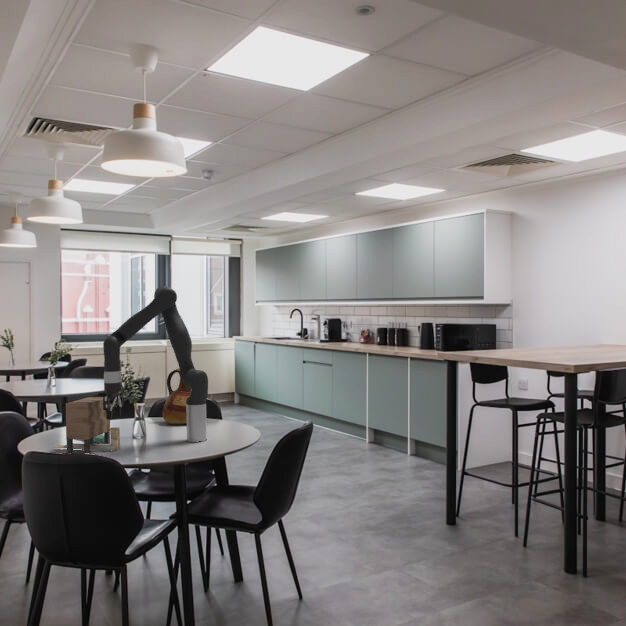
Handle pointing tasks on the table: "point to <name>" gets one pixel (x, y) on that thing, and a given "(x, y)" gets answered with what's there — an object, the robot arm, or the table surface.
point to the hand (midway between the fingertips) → (114, 417)
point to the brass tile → (60, 446)
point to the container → (99, 439)
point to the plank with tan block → (104, 447)
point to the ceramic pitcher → (176, 402)
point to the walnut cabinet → (86, 422)
